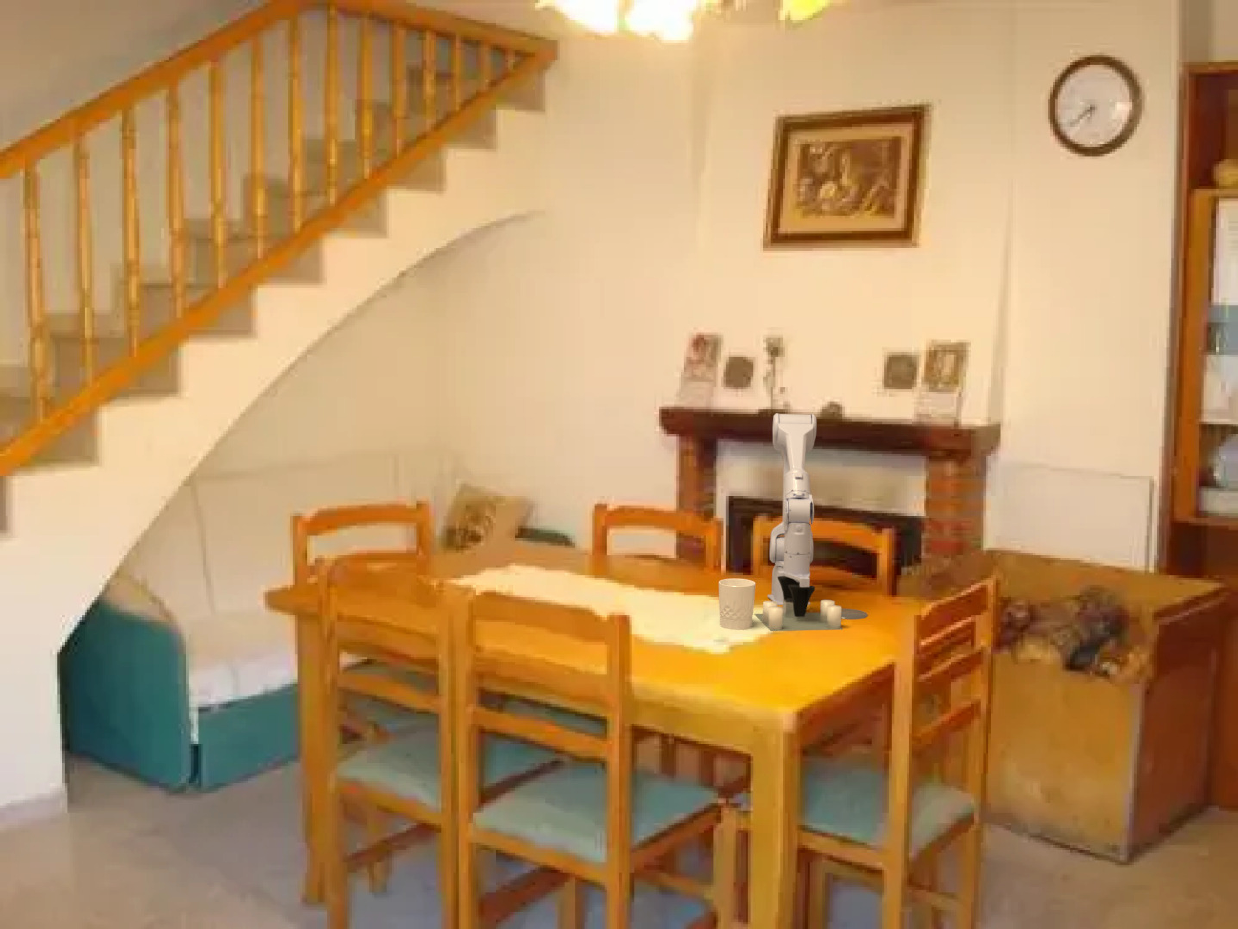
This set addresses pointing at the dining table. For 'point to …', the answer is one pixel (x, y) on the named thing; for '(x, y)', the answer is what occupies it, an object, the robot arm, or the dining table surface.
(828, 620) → the beige capsules
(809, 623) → the mat
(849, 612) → the grey round coaster
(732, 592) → the white cup
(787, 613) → the faceted crystal gem
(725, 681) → the dining table surface
